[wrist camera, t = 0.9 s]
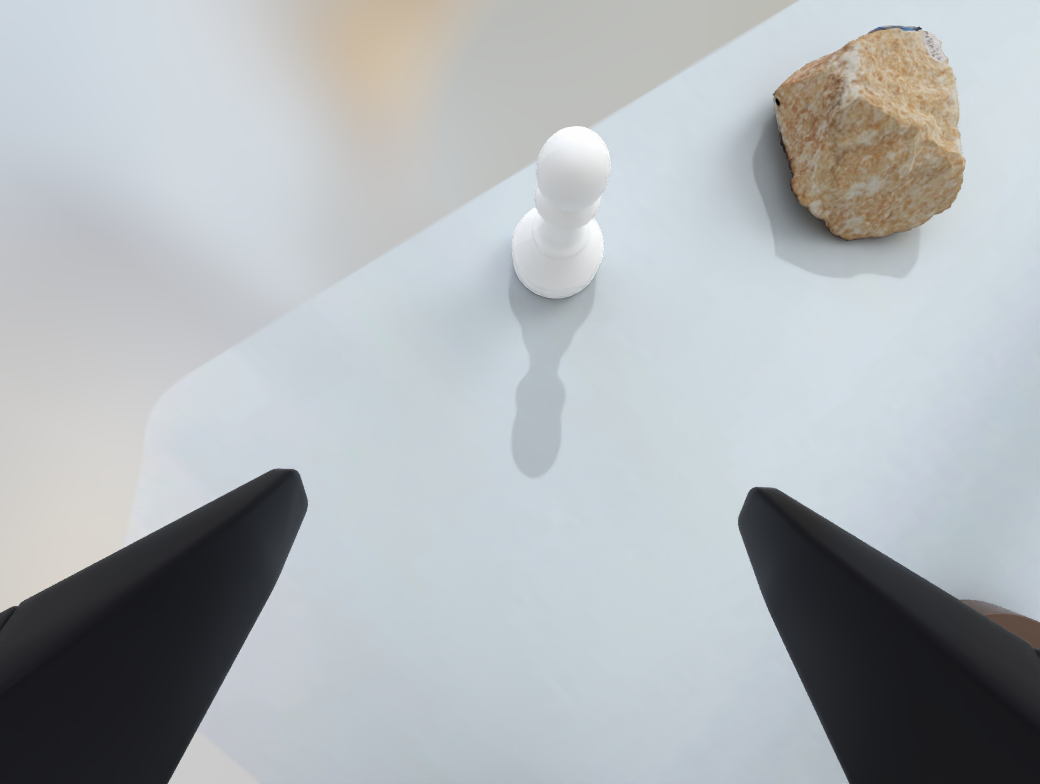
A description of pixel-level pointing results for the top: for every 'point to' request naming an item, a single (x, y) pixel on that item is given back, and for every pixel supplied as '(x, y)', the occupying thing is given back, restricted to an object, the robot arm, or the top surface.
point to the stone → (874, 133)
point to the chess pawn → (563, 216)
